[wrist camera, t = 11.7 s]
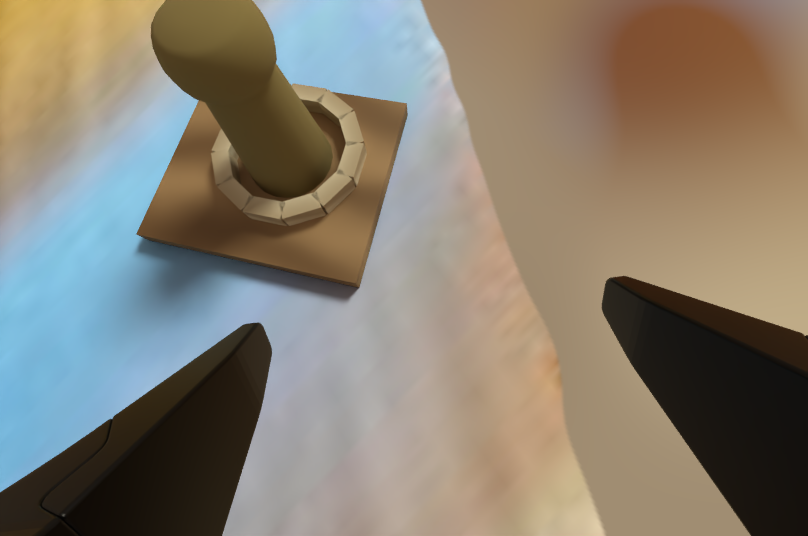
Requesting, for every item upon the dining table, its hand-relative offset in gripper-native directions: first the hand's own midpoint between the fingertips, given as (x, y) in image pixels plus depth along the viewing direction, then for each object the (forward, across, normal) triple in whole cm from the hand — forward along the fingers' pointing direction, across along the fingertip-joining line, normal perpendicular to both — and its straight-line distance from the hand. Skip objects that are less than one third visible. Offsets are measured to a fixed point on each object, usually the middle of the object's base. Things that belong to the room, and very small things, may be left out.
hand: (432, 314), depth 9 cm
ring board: (+19, +9, 0) cm, 21 cm away
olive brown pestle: (+19, +8, -1) cm, 21 cm away
